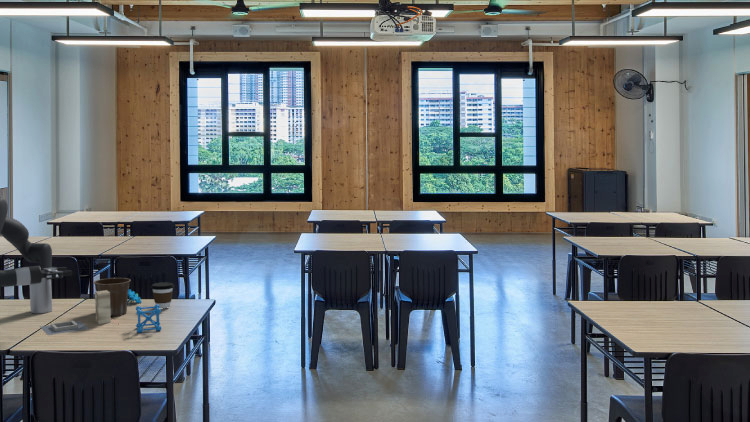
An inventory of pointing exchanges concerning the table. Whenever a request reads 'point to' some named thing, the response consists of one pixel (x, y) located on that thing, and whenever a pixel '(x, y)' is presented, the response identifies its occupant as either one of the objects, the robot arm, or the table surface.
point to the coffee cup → (162, 293)
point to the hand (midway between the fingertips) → (69, 271)
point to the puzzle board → (64, 327)
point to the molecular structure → (148, 318)
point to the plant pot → (115, 293)
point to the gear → (133, 296)
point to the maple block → (102, 307)
